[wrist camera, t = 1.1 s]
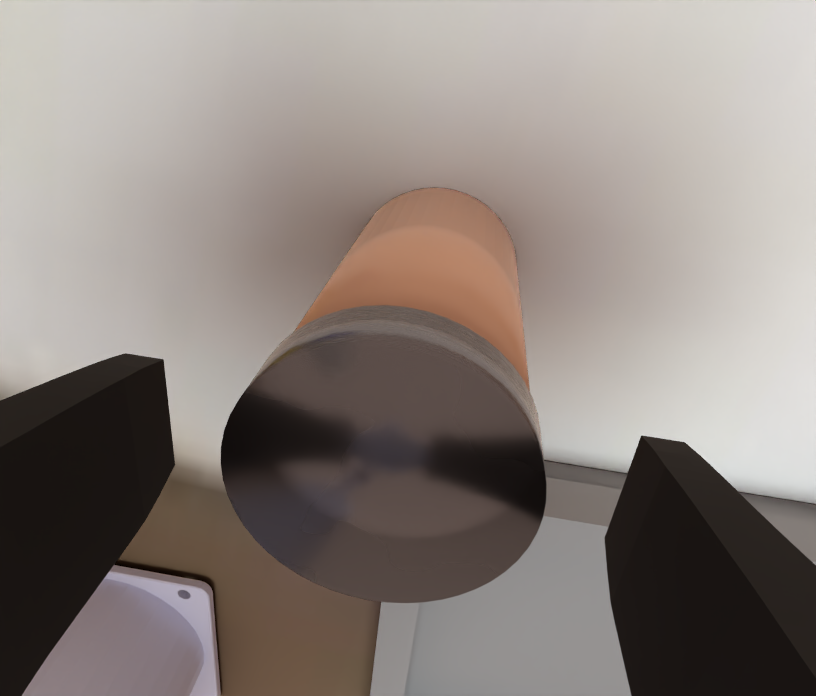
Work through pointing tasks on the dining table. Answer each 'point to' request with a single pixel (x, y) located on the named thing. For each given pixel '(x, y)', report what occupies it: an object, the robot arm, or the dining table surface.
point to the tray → (537, 607)
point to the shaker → (398, 414)
